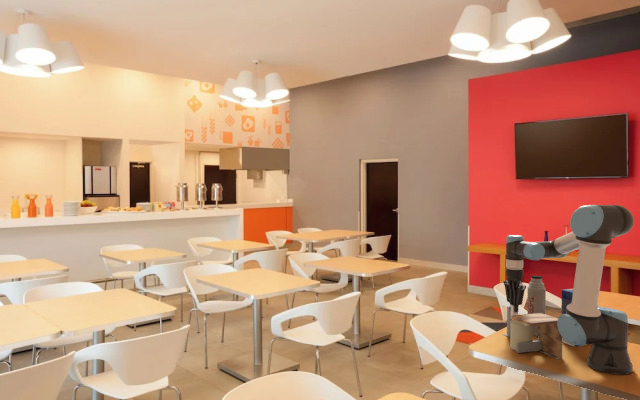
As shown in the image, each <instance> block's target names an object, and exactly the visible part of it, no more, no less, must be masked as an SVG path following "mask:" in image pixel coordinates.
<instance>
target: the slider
mask: <svg viewBox="0 0 640 400" xmlns="http://www.w3.org/2000/svg"><path fill="white" fill-rule="evenodd" d="M511 320H513V319H511V310H510V305H508V306H506V334H507V336H510V321H511ZM507 336H506V337H507ZM542 347H543V345H542V341H541V340H538V339H535V340H532V341H527V342H518V343H516V350H515V352H516V353H518V354H519V353H520V354H521V353H527V352H537V351H538V350H542ZM538 352H539V351H538Z"/></svg>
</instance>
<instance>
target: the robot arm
mask: <svg viewBox="0 0 640 400" xmlns="http://www.w3.org/2000/svg"><path fill="white" fill-rule="evenodd" d="M634 223H635V218H634V215H633V214H632V212H631V211H630V210H629V209H628V208H626V207H625V206H623V205H620V204H588V205H581V206H579V207H578V208H577V209H575V210H574V212H573V213H572V214H571V217H570V221H569V227H570V229H571V232H568V233H567V234H564V235H561V236H560V237H557V238H555V239H553V240H550V241H548V240H547V241H546V240H545V241H525V238H524V236H523V235H519V234H517V235H516V234H509V235H507V236H506V242H505V257H506V258H505V268H506V269H505V275H506V280H503V281H502V283H503V285H504V289H505V291H504V292H505V297H506V302H507V303H509V306H510V310H511V316H513V315H519V314H518V313H519V306H521V305H523V302H524V301H523V300H524V296H525V291H526V289H527V286H526V285H524V284H523V280H522V279H523V278H524V269H523V268H524V259H528V260H530V261H540V260H541V259H560V258H565V257H567V256H568V254H569V253H571V252H574V251H576V250H577V251H578V253H577V259H576V265H575V266H576V268H575V275H574V282H573V288H572V289H573V296H572V303H571V304H569V305H567V307H566V314H562V313H561V315H559V316H558V321H557V325H558V330H559V332H560V334H561V336H562V337H563V339H564V340H565V341H566V342H568V343H569V344H572V345H584V344H591V345H592V346H591V348H590V351H589V353H588V356H587V359H586V360H587V363H586V364H587V366H588V367H590V368H591V369H593V370H596V371H599V372H602V373H606V374H612V375H629V374H632V373H633V371H634V370H633V369H634V368H633V363H632V361H631V357H630V355H629V351H628V345H629V344H628V343H629V339H628V337H629V331H628V330H629V320H628V314H627V313H626V312H625V311H622V310H619V309H615V308H611V307H606V306H598V305H599V296H600V290H601V283H602V282H601V281H602V276H603V269H604V262H605V255H606V249H607V247H609V246H610V245H611V244H612V241H613V239H615V238H618V237H621V236H623V235H626V234H628V233H629V232H630V231H631V230H632V229H633V227H634ZM511 319H512V318H511ZM512 320H513V319H512ZM569 344H568V345H569ZM584 346H585V345H584Z"/></svg>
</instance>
